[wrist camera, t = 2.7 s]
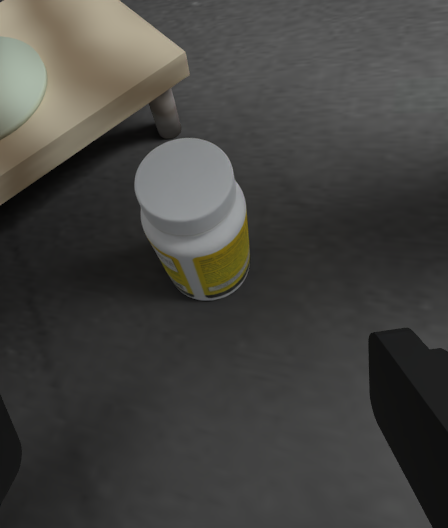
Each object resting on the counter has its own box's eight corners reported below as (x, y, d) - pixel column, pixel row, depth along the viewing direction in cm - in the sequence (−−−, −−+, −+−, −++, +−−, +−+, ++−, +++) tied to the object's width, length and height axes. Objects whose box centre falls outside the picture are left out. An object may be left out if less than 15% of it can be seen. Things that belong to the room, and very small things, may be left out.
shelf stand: (103, 45, 32) (68, -45, 26) (200, 129, 28) (184, 45, 22) (-136, 196, 28) (-242, 130, 22) (-65, 322, 23) (-173, 282, 18)
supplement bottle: (256, 233, 24) (254, 135, 16) (243, 308, 22) (234, 237, 15) (178, 223, 25) (141, 124, 17) (159, 295, 23) (108, 222, 15)
